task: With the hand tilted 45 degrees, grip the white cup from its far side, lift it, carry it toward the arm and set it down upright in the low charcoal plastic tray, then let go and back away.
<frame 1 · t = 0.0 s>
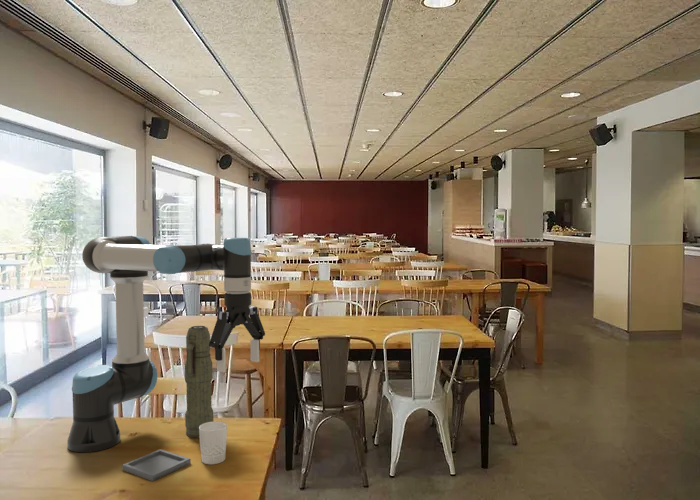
hand: (238, 366, 160), 28 cm above the table, tool pointing down, fingers open, 13 cm apart
thermos: (199, 433, 185), on the table
white cup: (213, 460, 164), on the table
charcoal tray: (156, 466, 159), on the table
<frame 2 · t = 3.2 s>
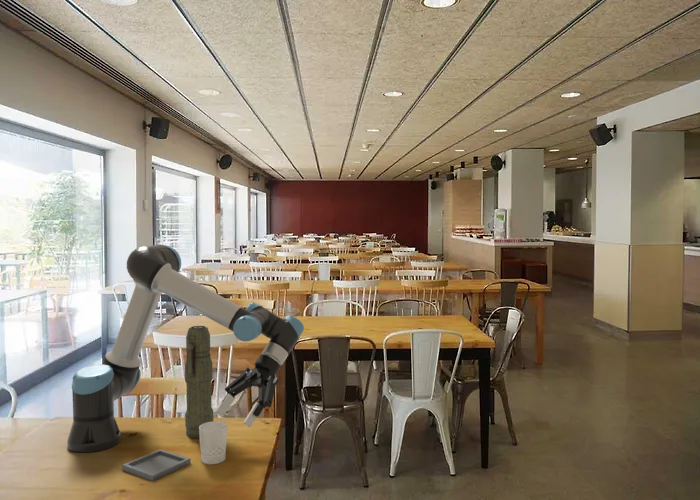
hand: (232, 419, 167), 10 cm above the table, tool tilted 45°, fingers open, 13 cm apart
nothing on the table moved.
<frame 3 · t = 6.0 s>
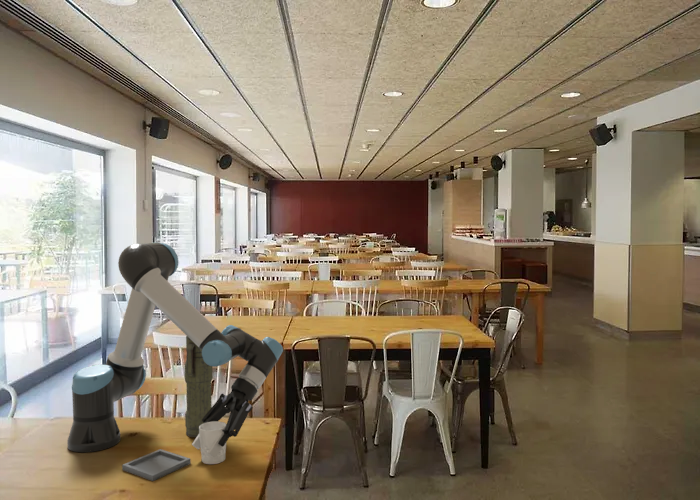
hand: (203, 450, 161), 4 cm above the table, tool tilted 45°, fingers closed on white cup, 8 cm apart
white cup: (213, 460, 164), on the table, touching gripper
everything else where it was.
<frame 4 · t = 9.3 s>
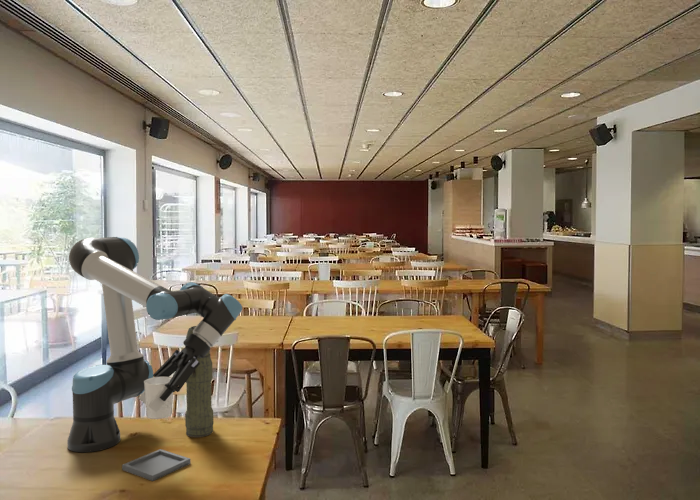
hand: (146, 405, 156), 18 cm above the table, tool tilted 45°, fingers closed on white cup, 8 cm apart
white cup: (159, 415, 159), point 14 cm above the table, touching gripper
everything else where it was.
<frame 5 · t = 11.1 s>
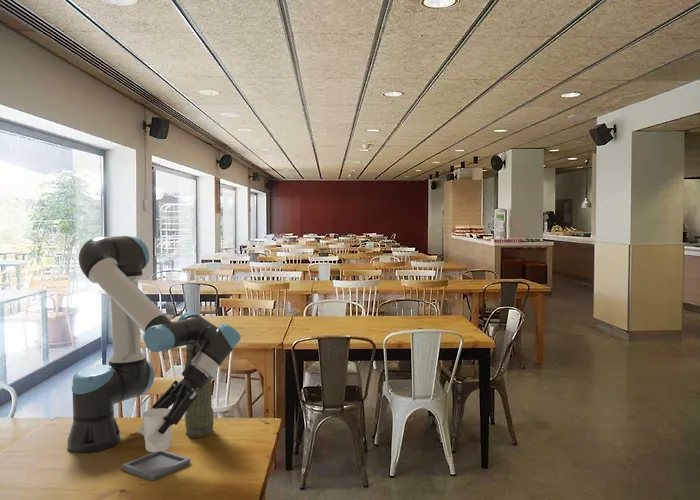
hand: (145, 437, 156), 9 cm above the table, tool tilted 45°, fingers closed on white cup, 8 cm apart
white cup: (158, 448, 159), point 5 cm above the table, touching gripper
everything else where it was.
when the fingers open (6 cm above the table, at t = 12.7 s): white cup drops 1 cm, resting on charcoal tray.
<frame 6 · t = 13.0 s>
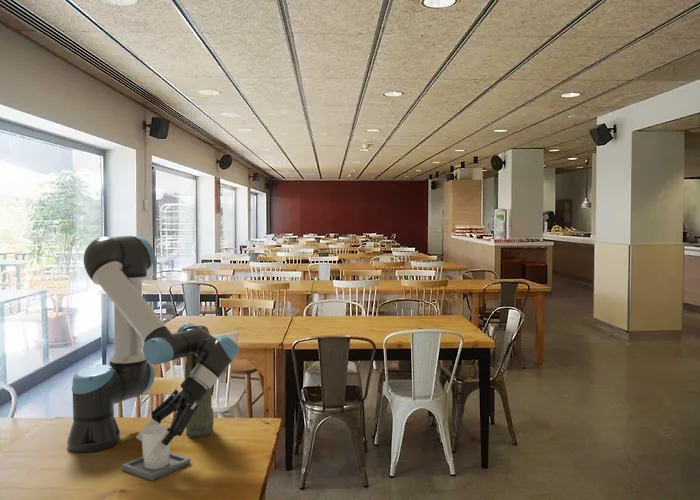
hand: (146, 446, 157), 6 cm above the table, tool tilted 45°, fingers open, 11 cm apart
white cup: (156, 465, 159), resting on charcoal tray
everything else where it was.
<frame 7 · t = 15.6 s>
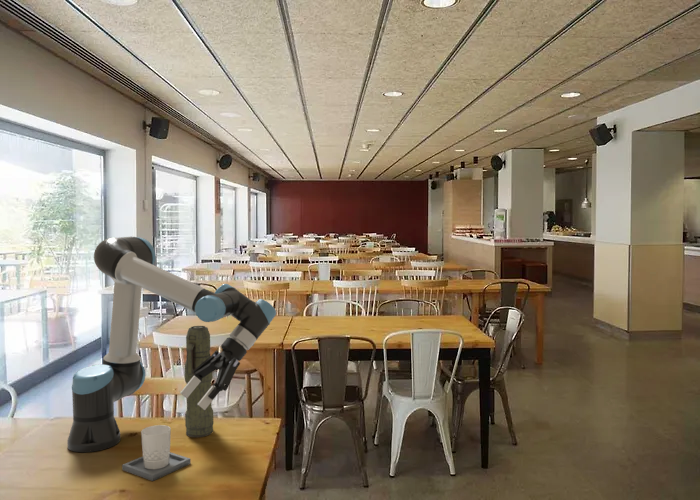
hand: (191, 401, 165), 17 cm above the table, tool tilted 45°, fingers open, 13 cm apart
nothing on the table moved.
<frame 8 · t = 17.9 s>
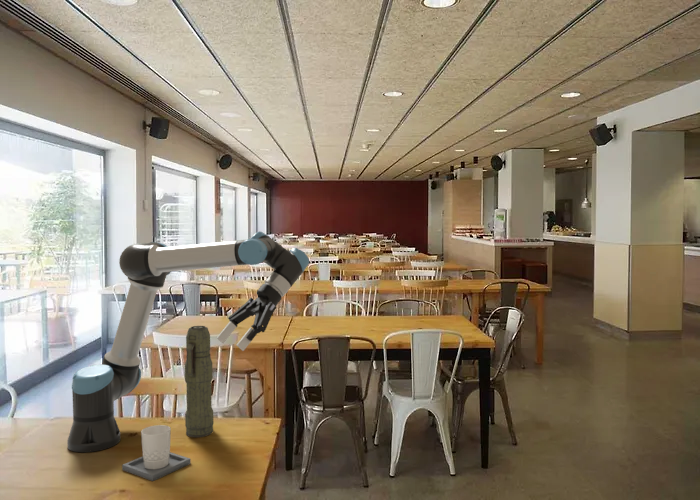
hand: (229, 344, 168), 33 cm above the table, tool tilted 45°, fingers open, 13 cm apart
nothing on the table moved.
at the end: white cup 0.1 cm off-centre on the charcoal tray, point 0.4 cm above the charcoal tray's base; white cup tilted 0°; the gripper is holding nothing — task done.
